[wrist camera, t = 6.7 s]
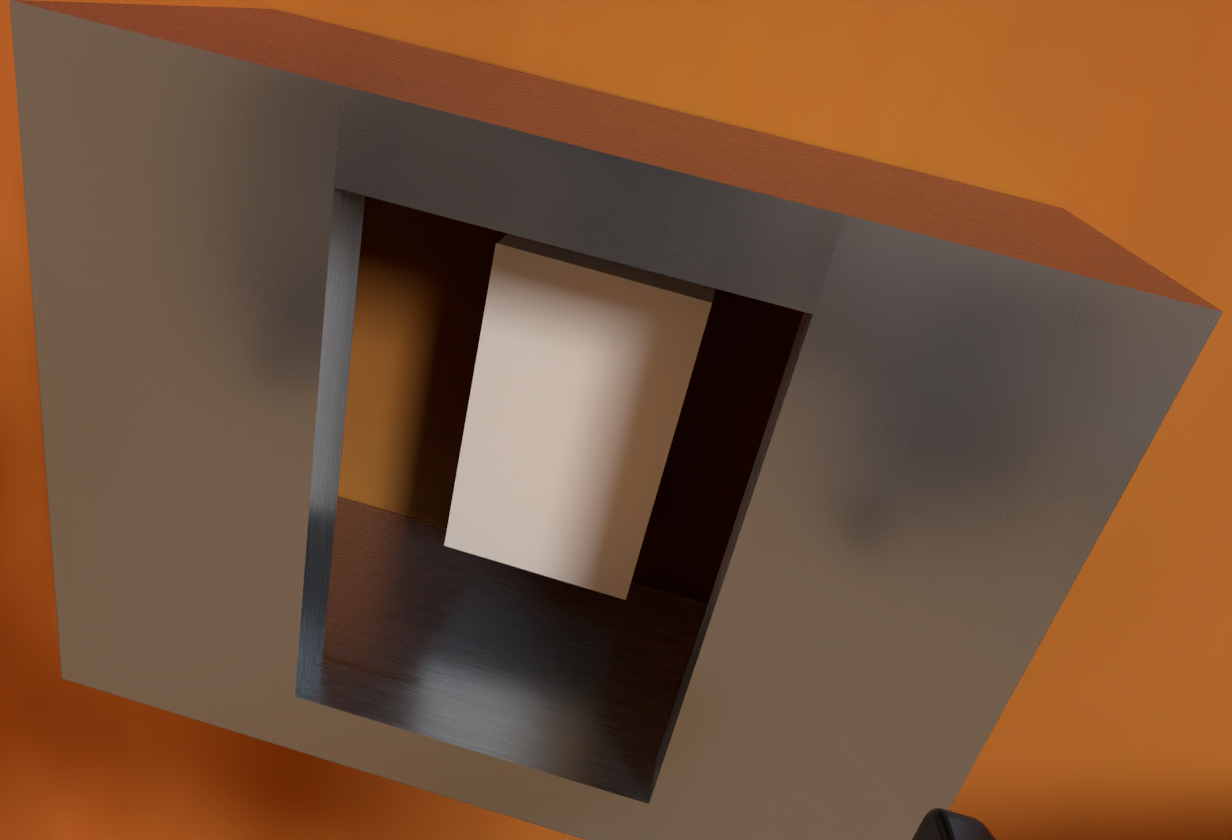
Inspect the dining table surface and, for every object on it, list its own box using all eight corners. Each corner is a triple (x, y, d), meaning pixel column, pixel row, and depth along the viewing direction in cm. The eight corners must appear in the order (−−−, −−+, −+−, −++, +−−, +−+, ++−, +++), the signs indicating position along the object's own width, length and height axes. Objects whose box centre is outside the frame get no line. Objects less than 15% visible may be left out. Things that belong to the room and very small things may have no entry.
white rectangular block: (723, 258, 14) (711, 302, 12) (647, 519, 16) (625, 600, 14) (542, 208, 14) (495, 243, 12) (491, 473, 16) (443, 545, 14)
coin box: (1064, 208, 12) (1223, 311, 8) (853, 682, 16) (881, 930, 12) (271, 8, 13) (9, 0, 9) (250, 507, 17) (61, 678, 13)
